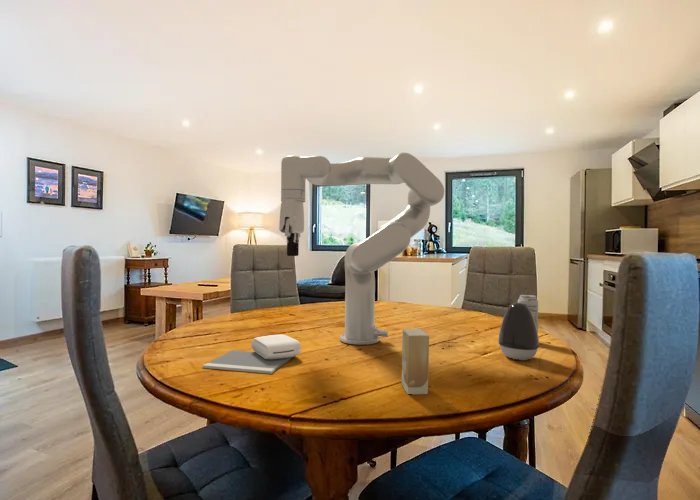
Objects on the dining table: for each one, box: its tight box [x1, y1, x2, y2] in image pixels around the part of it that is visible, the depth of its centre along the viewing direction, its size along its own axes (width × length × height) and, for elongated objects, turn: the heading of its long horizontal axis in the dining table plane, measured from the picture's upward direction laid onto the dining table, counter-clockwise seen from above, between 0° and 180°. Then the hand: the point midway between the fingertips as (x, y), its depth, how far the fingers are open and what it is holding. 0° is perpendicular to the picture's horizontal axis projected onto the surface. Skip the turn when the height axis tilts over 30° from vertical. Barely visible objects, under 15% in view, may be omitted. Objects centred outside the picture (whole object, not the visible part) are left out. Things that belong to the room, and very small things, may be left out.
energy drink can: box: [517, 294, 539, 334], centre depth 122 cm, size 6×6×15 cm
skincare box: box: [401, 328, 430, 395], centre depth 80 cm, size 6×4×12 cm
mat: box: [202, 350, 293, 375], centre depth 97 cm, size 18×14×1 cm
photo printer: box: [251, 334, 302, 360], centre depth 102 cm, size 10×4×12 cm
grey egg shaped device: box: [497, 302, 540, 361], centre depth 104 cm, size 10×10×15 cm
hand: (292, 255), depth 118 cm, fingers closed
